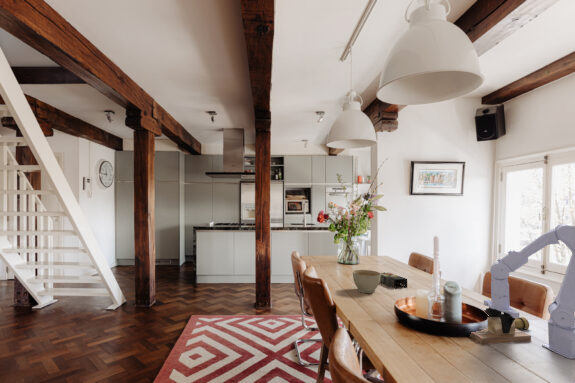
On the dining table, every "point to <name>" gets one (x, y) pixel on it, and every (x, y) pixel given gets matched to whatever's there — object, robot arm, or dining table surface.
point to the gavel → (519, 322)
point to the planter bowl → (366, 280)
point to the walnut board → (499, 337)
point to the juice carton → (392, 280)
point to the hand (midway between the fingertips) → (501, 330)
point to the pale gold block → (498, 326)
